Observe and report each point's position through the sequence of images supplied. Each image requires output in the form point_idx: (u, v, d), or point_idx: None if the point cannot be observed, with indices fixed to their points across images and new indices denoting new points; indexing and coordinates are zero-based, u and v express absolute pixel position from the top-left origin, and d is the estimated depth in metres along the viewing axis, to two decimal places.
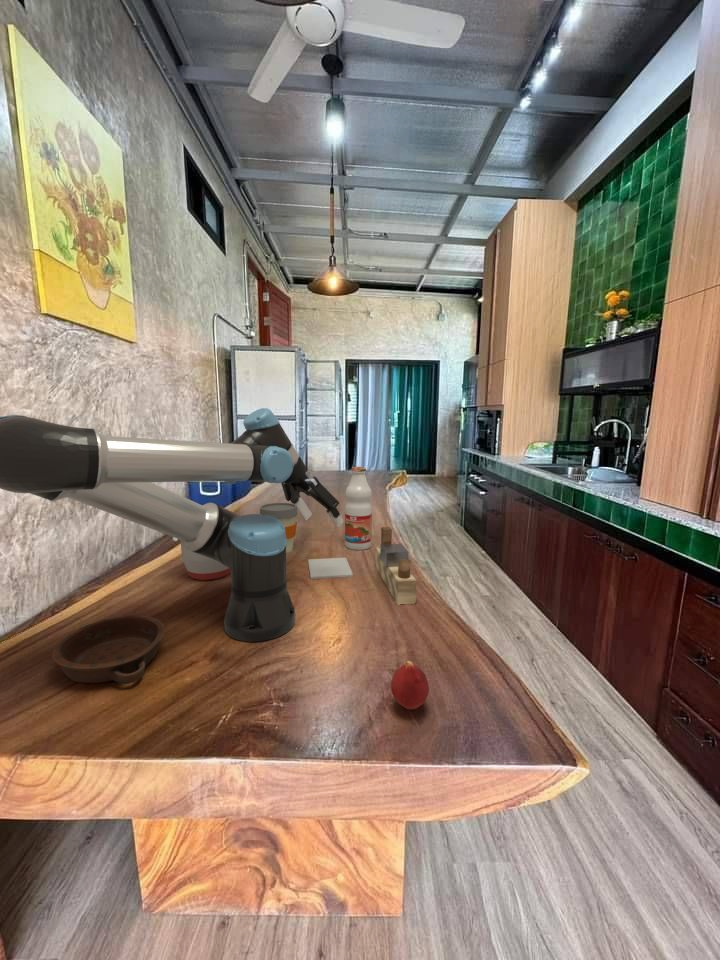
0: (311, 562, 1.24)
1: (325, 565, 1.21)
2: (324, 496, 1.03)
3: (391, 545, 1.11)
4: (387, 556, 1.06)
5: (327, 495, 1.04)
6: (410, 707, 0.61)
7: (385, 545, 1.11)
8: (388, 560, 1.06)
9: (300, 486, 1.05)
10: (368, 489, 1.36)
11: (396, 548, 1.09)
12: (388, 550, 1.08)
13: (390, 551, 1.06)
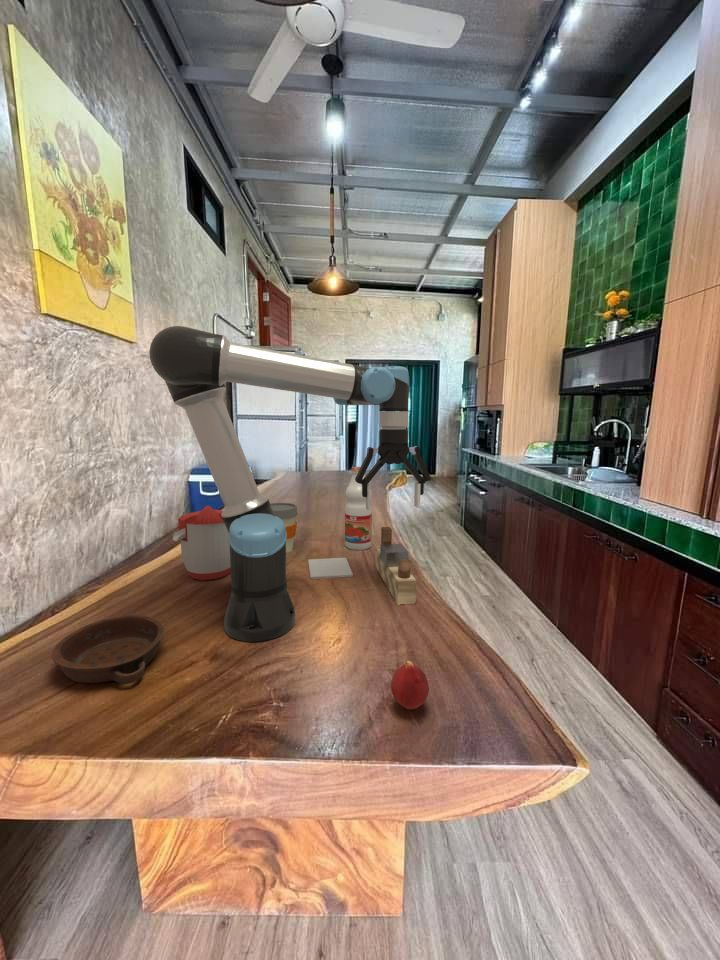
0: (311, 562, 1.24)
1: (325, 565, 1.21)
2: None
3: (391, 545, 1.11)
4: (387, 556, 1.06)
5: None
6: (410, 707, 0.61)
7: (385, 545, 1.11)
8: (388, 560, 1.06)
9: (402, 453, 1.04)
10: None
11: (396, 548, 1.09)
12: (388, 550, 1.08)
13: (390, 551, 1.06)
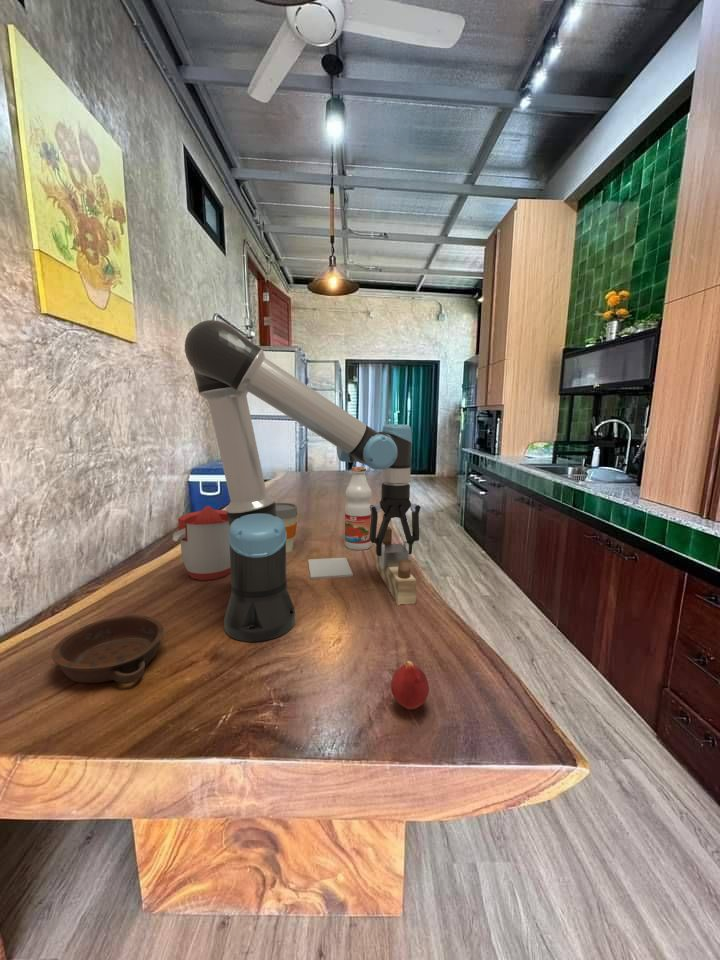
0: (311, 562, 1.24)
1: (325, 565, 1.21)
2: None
3: (391, 545, 1.11)
4: (387, 556, 1.06)
5: None
6: (410, 707, 0.61)
7: (385, 545, 1.11)
8: (388, 560, 1.06)
9: None
10: (368, 489, 1.36)
11: (396, 548, 1.09)
12: (388, 550, 1.08)
13: (390, 551, 1.06)
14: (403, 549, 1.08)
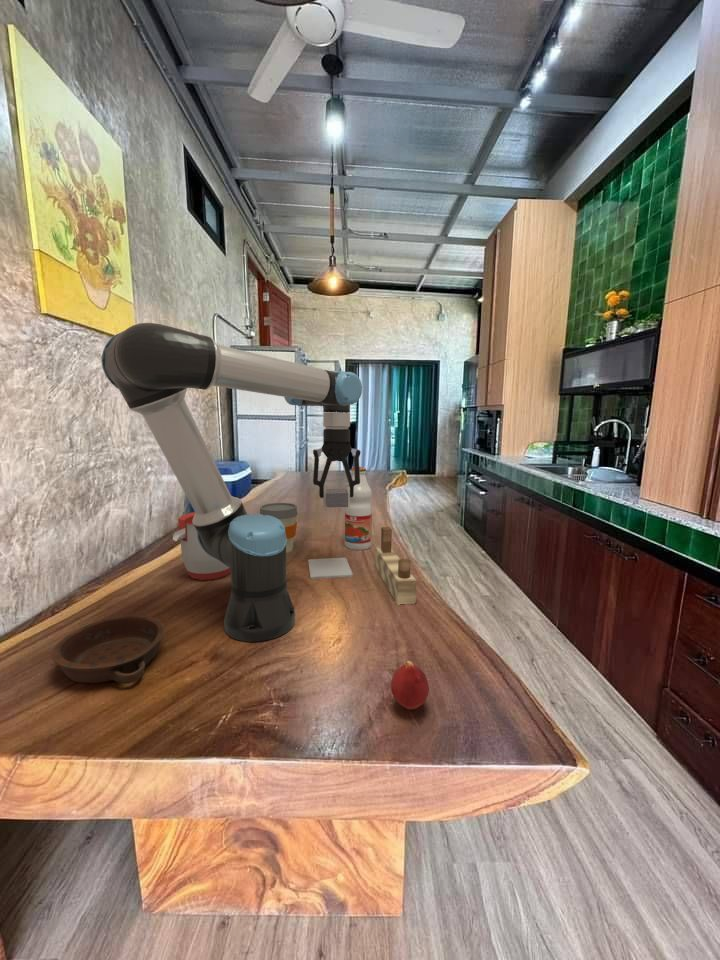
0: (311, 562, 1.24)
1: (325, 565, 1.21)
2: None
3: (335, 489, 1.18)
4: (327, 496, 1.12)
5: None
6: (410, 707, 0.61)
7: (329, 489, 1.18)
8: (328, 500, 1.12)
9: (344, 452, 1.13)
10: (368, 489, 1.36)
11: (338, 491, 1.16)
12: (330, 491, 1.14)
13: (330, 492, 1.13)
14: (344, 491, 1.15)
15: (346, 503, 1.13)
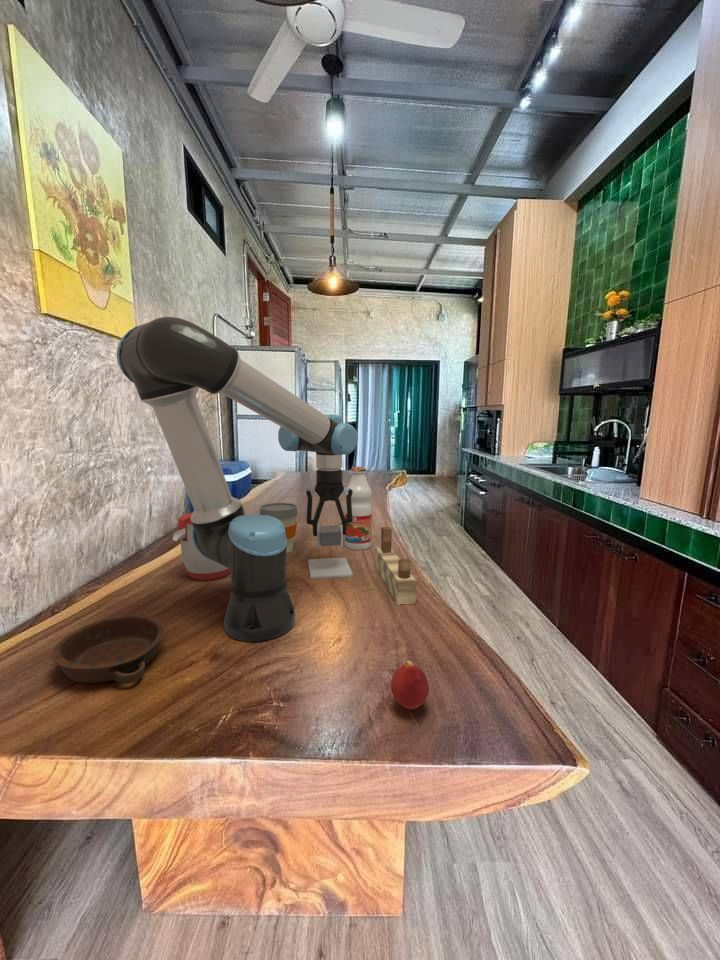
0: (311, 562, 1.24)
1: (325, 565, 1.21)
2: (351, 507, 1.18)
3: (328, 526, 1.21)
4: (321, 536, 1.15)
5: None
6: (410, 707, 0.61)
7: (322, 526, 1.21)
8: (322, 539, 1.15)
9: (336, 492, 1.16)
10: (368, 489, 1.36)
11: (331, 529, 1.19)
12: (323, 530, 1.17)
13: (324, 532, 1.16)
14: (337, 530, 1.18)
15: (339, 541, 1.16)
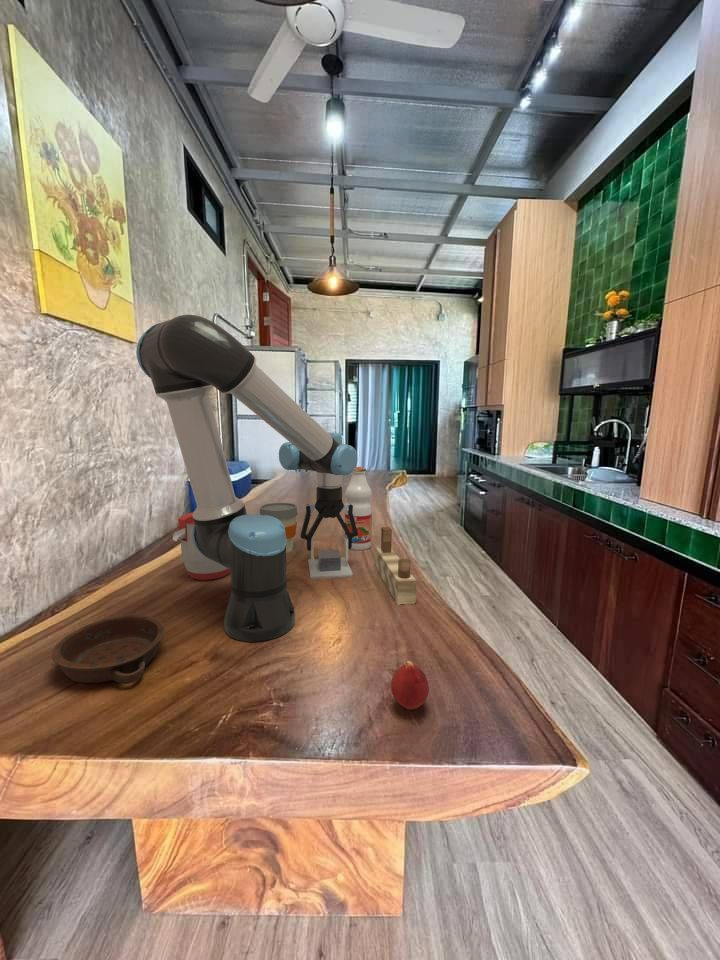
0: (311, 562, 1.24)
1: None
2: (354, 522, 1.19)
3: (328, 551, 1.22)
4: (321, 561, 1.16)
5: None
6: (410, 707, 0.61)
7: (322, 551, 1.22)
8: (322, 565, 1.16)
9: (337, 509, 1.16)
10: (368, 489, 1.36)
11: (331, 553, 1.20)
12: (323, 555, 1.18)
13: (324, 557, 1.17)
14: (337, 555, 1.19)
15: (339, 567, 1.17)
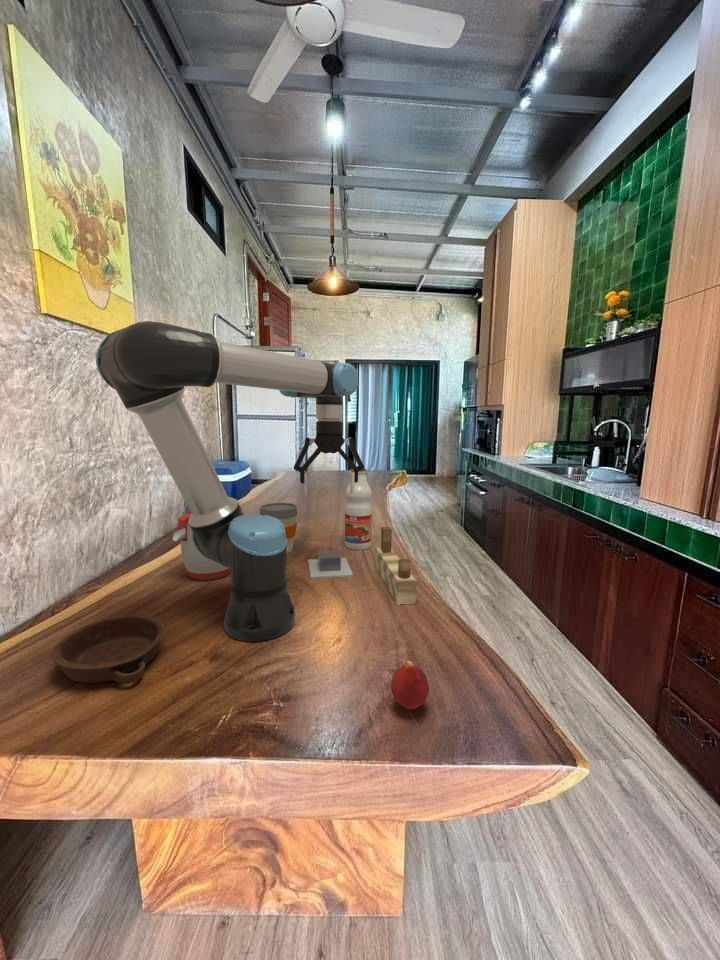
0: (311, 562, 1.24)
1: None
2: (358, 455, 1.16)
3: (328, 551, 1.22)
4: (321, 561, 1.16)
5: None
6: (410, 707, 0.61)
7: (322, 551, 1.22)
8: (322, 565, 1.16)
9: (337, 443, 1.13)
10: (368, 489, 1.36)
11: (331, 553, 1.20)
12: (323, 555, 1.18)
13: (324, 557, 1.17)
14: (337, 555, 1.19)
15: (339, 567, 1.17)
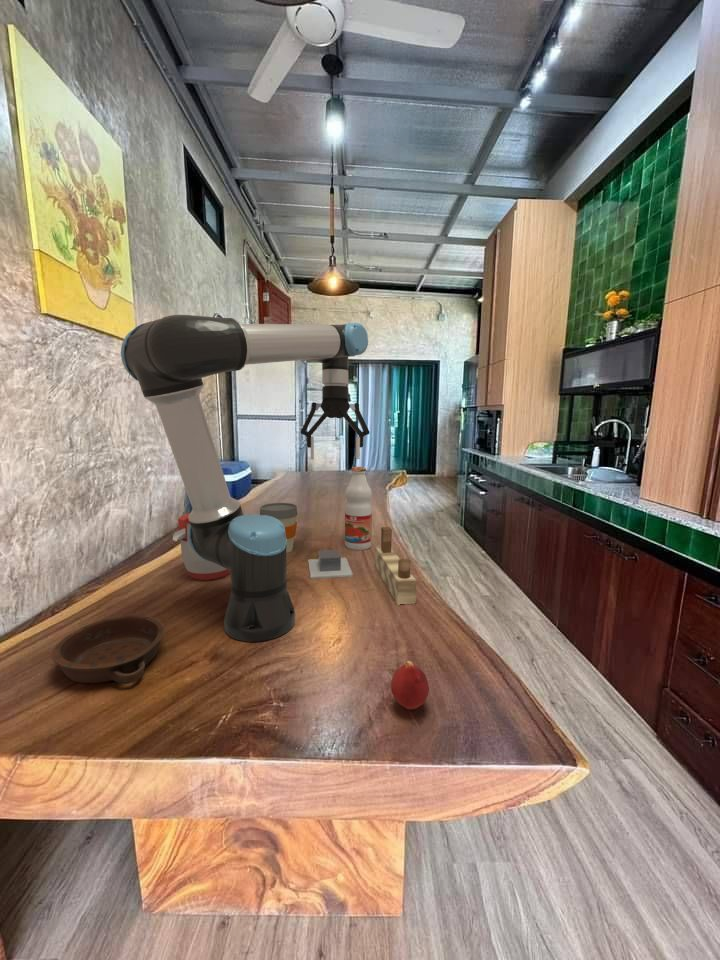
0: (311, 562, 1.24)
1: None
2: (363, 420, 1.19)
3: (328, 551, 1.22)
4: (321, 561, 1.16)
5: None
6: (410, 707, 0.61)
7: (322, 551, 1.22)
8: (322, 565, 1.16)
9: (343, 408, 1.16)
10: (368, 489, 1.36)
11: (331, 553, 1.20)
12: (323, 555, 1.18)
13: (324, 557, 1.17)
14: (337, 555, 1.19)
15: (339, 567, 1.17)
